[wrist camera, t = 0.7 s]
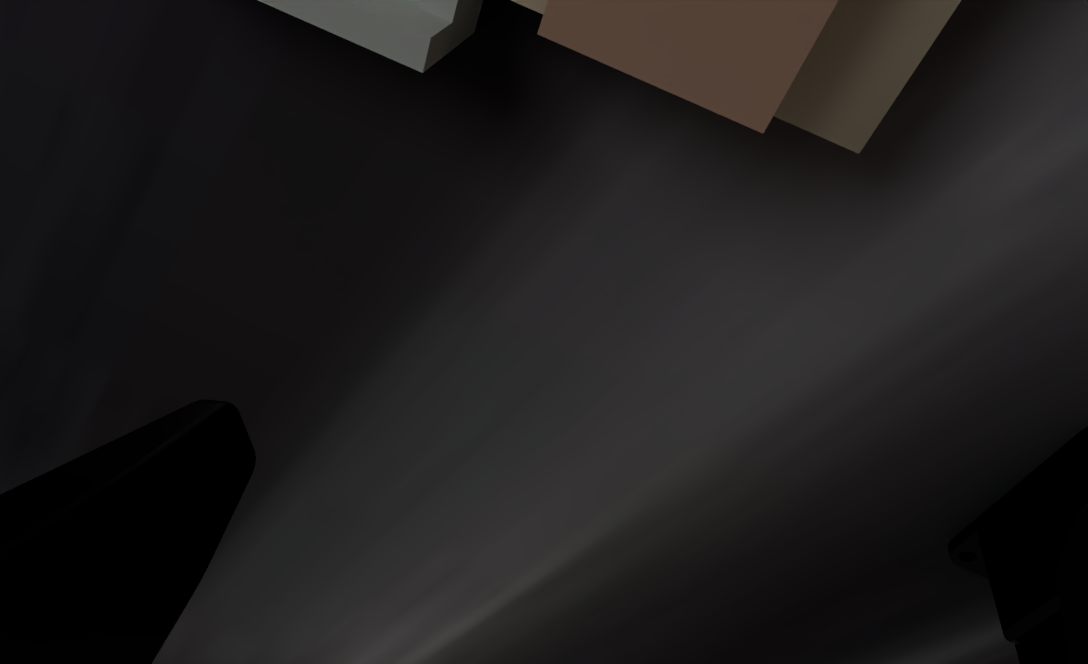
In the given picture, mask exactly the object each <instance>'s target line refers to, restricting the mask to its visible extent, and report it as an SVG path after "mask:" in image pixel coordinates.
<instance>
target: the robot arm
mask: <svg viewBox="0 0 1088 664" xmlns="http://www.w3.org/2000/svg"><path fill="white" fill-rule="evenodd" d="M255 462H256V455H255V450H254V447H253V445H252V442H251V440H250V437H249V435H248V432H247V430H246V427H245V425H244V422H243V420H242V418H241V415H240V413H239V411H238V409H237V408H236V407H235V406H234V405H233V404H231V403H229V402H224V401H215V400H198V401H195V402H193V403H191V404H189V405H187V406H185V407H183V408H181V409H179V410H176V411H174V412H172V413H170V414H168V415H166V416H164V417H162V418H160V419H158V420H155V421H153V422H151V423H149V424H147V425H145V426H143V427H141V428H139V429H137V430H135V431H132V432H130V433H128V434H126V435H124V436H122V437H120V438H118V439H116V440H114V441H112V442H109V443H107V444H105V445H103V446H101V447H99V448H97V449H95V450H93V451H91V452H89V453H86V454H84V455H82V456H80V457H78V458H76V459H74V460H72V461H70V462H68V463H65V464H63V465H61V466H59V467H57V468H55V469H53V470H51V471H49V472H47V473H45V474H42V475H40V476H38V477H36V478H34V479H32V480H30V481H28V482H26V483H24V484H22V485H19V486H17V487H15V488H13V489H11V490H9V491H7V492H5V493H3V494H1V495H0V664H152V662H153V660H154V659H155V657H156V655H157V654H158V652H159V650H160V649H161V647H162V645H163V644H164V642H165V640H166V639H167V637H168V635H169V634H170V632H171V630H172V629H173V627H174V625H175V624H176V622H177V620H178V619H179V617H180V615H181V614H182V612H183V610H184V609H185V607H186V605H187V604H188V602H189V600H190V599H191V597H192V595H193V593H194V592H195V590H196V588H197V586H198V585H199V583H200V581H201V579H202V577H203V575H204V573H205V571H206V569H207V567H208V565H209V563H210V561H211V559H212V557H213V555H214V553H215V551H216V549H217V547H218V545H219V543H220V541H221V538H222V536H223V534H224V532H225V530H226V528H227V526H228V524H229V522H230V520H231V517H232V515H233V513H234V511H235V509H236V507H237V505H238V503H239V501H240V499H241V497H242V494H243V492H244V490H245V488H246V486H247V484H248V482H249V480H250V478H251V476H252V473H253V471H254V467H255ZM948 550H949V555H950V558H951V560H952V562H954V563H955V564H957V565H959V566H961V567H963V568H966V569H968V570H970V571H972V572H975V573H977V574H979V575H981V576H984V577H986V578H988V579H989V581H990V585H991V589H992V593H993V596H994V600H995V604H996V608H997V611H998V615H999V619H1000V623H1001V627H1002V630H1003V634H1004V637H1005V638H1006V640H1008V641H1010V642H1012V643H1015V647H1016V650H1017V654H1018V658H1019V661H1020V664H1088V427H1087V428H1085V429H1083V430H1082V431H1080V432H1079V433H1078V434H1077V435H1075V436H1074V437H1073V438H1072V439H1071V440H1069V441H1068V442H1067V443H1066V444H1065V445H1064V446H1062V447H1061V448H1060V449H1059V450H1058V451H1056V452H1055V453H1054V454H1053V455H1052V456H1050V457H1049V458H1048V459H1047V460H1046V461H1045V462H1043V463H1042V464H1041V465H1040V466H1039V467H1037V468H1036V469H1035V470H1034V471H1033V472H1031V473H1030V474H1029V475H1028V476H1027V477H1026V478H1024V479H1023V480H1022V481H1021V482H1020V483H1018V484H1017V485H1016V486H1015V487H1014V488H1013V489H1011V490H1010V491H1009V492H1008V493H1007V494H1005V495H1004V496H1003V497H1002V498H1001V499H999V500H998V501H997V502H996V503H995V504H994V505H992V506H991V507H990V508H989V509H988V510H986V511H985V512H984V513H983V514H982V515H980V516H979V517H978V518H977V519H976V520H975V521H973V522H972V523H971V524H970V525H969V526H967V527H966V528H965V529H964V530H963V531H962V532H960V533H959V534H958V535H957V536H956V537H954V538H953V539H952V540H951V541H950V542H949V544H948ZM964 551H969V552H964Z"/></svg>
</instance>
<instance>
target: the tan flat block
mask: <svg viewBox="0 0 1088 664" xmlns="http://www.w3.org/2000/svg"><path fill="white" fill-rule="evenodd" d="M511 1H514V2H516V3H518V4H520V5H523V6H525V7H527V8H529V9H532V10H534V11H536V12H538V13H541V14H544V11H545V8H546V5H547V2H548V0H511ZM960 2H961V0H838V2H837V4H836V6H835V7H834V9H833V11H832V13H831V15H830V16H829V18H828V20H827V22H826V23H825V25H824V27H823V29H822V31H821V32H820V34H819V36H818V38H817V39H816V41H815V43H814V45H813V46H812V48H811V50H810V52H809V54H808V55H807V57H806V59H805V61H804V62H803V64H802V66H801V68H800V70H799V71H798V73H797V75H796V77H795V78H794V80H793V82H792V84H791V85H790V87H789V89H788V91H787V93H786V94H785V96H784V98H783V100H782V101H781V103H780V105H779V107H778V109H777V110H776V112H775V114H774V117H777V118H779V119H781V120H783V121H786V122H788V123H790V124H792V125H795V126H797V127H799V128H801V129H804V130H806V131H808V132H811V133H813V134H815V135H817V136H820V137H822V138H824V139H826V140H829V141H831V142H833V143H835V144H838V145H840V146H842V147H845V148H847V149H849V150H851V151H854V152H856V153H858V154H859V153H860V152H861V150H862V149H863V147H864V146H865V144H866V143H867V141H868V140H869V138H870V137H871V135H872V134H873V132H874V131H875V129H876V128H877V126H878V125H879V123H880V122H881V120H882V119H883V117H884V116H885V114H886V113H887V111H888V110H889V108H890V107H891V105H892V104H893V102H894V101H895V99H896V98H897V96H898V95H899V93H900V92H901V90H902V89H903V87H904V86H905V84H906V83H907V81H908V80H909V78H910V77H911V75H912V74H913V72H914V71H915V69H916V68H917V66H918V65H919V63H920V62H921V60H922V59H923V57H924V56H925V54H926V53H927V51H928V50H929V48H930V47H931V45H932V44H933V42H934V41H935V39H936V38H937V36H938V35H939V33H940V32H941V30H942V29H943V27H944V26H945V24H946V23H947V21H948V20H949V18H950V17H951V15H952V14H953V12H954V11H955V9H956V8H957V6H958V5H959V3H960Z"/></svg>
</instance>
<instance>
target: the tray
mask: <svg viewBox="0 0 1088 664" xmlns="http://www.w3.org/2000/svg"><path fill="white" fill-rule="evenodd" d="M258 1H260V2H263V3H265V4H267V5H269V6H272V7H274V8H276V9H279V10H281V11H283V12H285V13H288V14H290V15H292V16H294V17H297V18H299V19H301V20H303V21H306V22H308V23H310V24H313V25H315V26H317V27H319V28H322V29H324V30H326V31H328V32H331V33H333V34H335V35H338V36H340V37H342V38H344V39H347V40H349V41H351V42H353V43H356V44H358V45H360V46H362V47H365V48H367V49H369V50H372V51H374V52H376V53H378V54H381V55H383V56H385V57H387V58H390V59H392V60H394V61H397V62H399V63H401V64H403V65H406V66H408V67H410V68H412V69H415V70H417V71H419V72H421V73H423V72H425V71H426V70H427V69H428V68H430V67H431V66H432V65H434V64H435V63H436V62H437V61H439V60H440V59H441V58H442V57H444V56H445V55H446V54H448V53H449V52H450V51H451V50H453V49H454V48H455V47H456V46H458V45H459V44H460V43H461V42H463V41H464V40H465V39H467V38H468V37H469V36H470V35H472V34H473V33H474V32H475V28H476V25H477V21H478V17H479V14H480V10H481V6H482V3H483V0H258Z"/></svg>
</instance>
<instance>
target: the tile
mask: <svg viewBox="0 0 1088 664" xmlns="http://www.w3.org/2000/svg"><path fill="white" fill-rule="evenodd" d="M837 2H838V0H548V2H547V5H546V8H545V11H544V14H543V18H542V21H541V24H540V27H539V30H538V33H537V34H538V35H540V36H542V37H545V38H547V39H549V40H552V41H554V42H556V43H558V44H561V45H563V46H565V47H567V48H570V49H572V50H574V51H577V52H579V53H581V54H583V55H586V56H588V57H590V58H592V59H595V60H597V61H599V62H601V63H604V64H606V65H608V66H611V67H613V68H615V69H617V70H620V71H622V72H624V73H626V74H629V75H631V76H633V77H635V78H638V79H640V80H642V81H645V82H647V83H649V84H651V85H654V86H656V87H658V88H660V89H663V90H665V91H667V92H669V93H672V94H674V95H676V96H679V97H681V98H683V99H685V100H688V101H690V102H692V103H694V104H697V105H699V106H701V107H704V108H706V109H708V110H710V111H713V112H715V113H717V114H719V115H722V116H724V117H726V118H728V119H731V120H733V121H735V122H738V123H740V124H742V125H744V126H747V127H749V128H751V129H753V130H756V131H758V132H760V133H762V134H763V133H764V132H765V130H766V128H767V126H768V124H769V123H770V121H771V119H772V117H773V116H774V114H775V112H776V110H777V109H778V107H779V105H780V103H781V101H782V100H783V98H784V96H785V94H786V93H787V91H788V89H789V87H790V85H791V84H792V82H793V80H794V78H795V77H796V75H797V73H798V71H799V70H800V68H801V66H802V64H803V62H804V61H805V59H806V57H807V55H808V54H809V52H810V50H811V48H812V46H813V45H814V43H815V41H816V39H817V38H818V36H819V34H820V32H821V31H822V29H823V27H824V25H825V23H826V22H827V20H828V18H829V16H830V15H831V13H832V11H833V9H834V7H835V6H836V4H837Z"/></svg>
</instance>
